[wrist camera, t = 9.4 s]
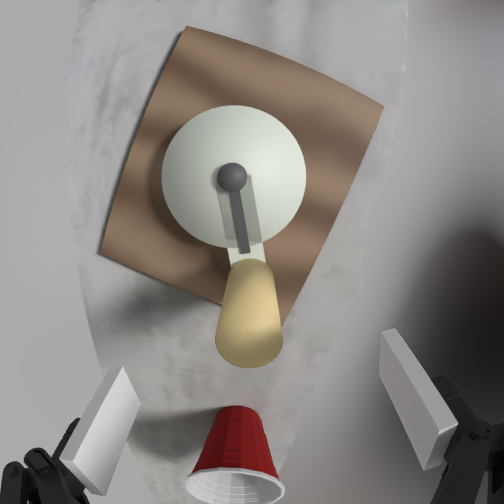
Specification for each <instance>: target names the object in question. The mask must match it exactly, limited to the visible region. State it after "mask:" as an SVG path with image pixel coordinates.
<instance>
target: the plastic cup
mask: <svg viewBox="0 0 504 504" xmlns="http://www.w3.org/2000/svg"><path fill="white" fill-rule="evenodd" d="M183 486H184V488H185V490H186V492H187V493H189V494H190V495H191V496H193V497H194V498H196V499H198V500H200V501H203V502H205V503H208V504H271V503H274V502H276V501H278V500H279V499H280V498H281V497H283V496H284V492H285V487H284V485H283V484H282V483H281V482H280V480H279V478H278V475H277V473H276V469H275V467H274V465H273V461H272V457H271V453H270V450H269V446H268V442H267V438H266V435H265V433H264V429H263V425H262V421H261V419H260V417H259V416H258V414H257V412H255V411H254V410H252V409H251V408H248V407H244V406H230V407H227V408H224V409H223V410H221V411H220V412H219V413H218V415H217V417H216V419H215V421H214V423H213V426H212V429H211V430H210V432H209V434H208V437H207V439H206V442H205V445H204V447H203V450H202V452H201V455H200V457H199V460H198V462H197V464H196V465H195V468H194V469H193V471H192V473H191V474H189V475H188V477H187V478H186V480H185V482H184V483H183Z"/></svg>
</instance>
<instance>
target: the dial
mask: <svg viewBox="0 0 504 504" xmlns="http://www.w3.org/2000/svg"><path fill="white" fill-rule="evenodd" d="M305 186H306V167H305V162H304V157H303V154H302V152H301V149H300V147H299V145H298V143H297V141H296V139H295V138H294V136H293V135H292V134H291V132H290V131H289V130H288V129H287V128H286V127H285V126H284V125H283V124H282V123H281V122H280V121H278V120H277V119H276V118H274V117H273V116H271V115H269V114H268V113H265V112H263V111H261V110H258V109H255V108H251V107H247V106H238V105H229V106H221V107H217V108H213V109H210V110H207V111H205V112H202V113H201V114H199V115H197V116H195V117H194V118H192V119H191V120H190V121H188V122H187V123H186V124H185V125H184V126H183V127H182V128H181V129H180V130H179V131H178V132H177V134H176V135H175V136H174V138H173V139H172V141H171V143H170V144H169V146H168V149H167V151H166V154H165V157H164V161H163V166H162V188H163V193H164V197H165V200H166V203H167V205H168V208H169V210H170V211H171V213H172V215H173V216H174V218H175V219H176V220H177V222H178V223H179V224H180V225H181V226H182V227H183V228H184V229H185V230H186V231H187V232H189V233H190V234H191V235H192V236H194V237H196V238H197V239H199V240H201V241H203V242H206V243H208V244H211V245H214V246H218V247H224V248H227V249H228V254H229V259H230V264H231V270H230V272H229V275H228V280H227V284H226V289H225V294H224V298H223V303H222V307H221V312H220V317H219V322H218V326H217V331H216V336H215V343H216V347H217V350H218V352H219V353H220V355H221V356H222V357H223V358H224V359H225V360H226V361H227V362H229V363H231V364H233V365H235V366H238V367H242V368H257V367H261V366H264V365H266V364H268V363H270V362H271V361H273V360H274V359H275V358H276V357H277V355H278V354H279V353H280V351H281V348H282V345H283V336H282V329H281V322H280V316H279V309H278V302H277V296H276V289H275V283H274V276H273V273H272V270H271V269H270V267H269V266H268V265H267V264H266V261H265V254H264V248H263V242H264V241H266V240H268V239H270V238H272V237H273V236H275V235H276V234H278V233H279V232H280V231H281V230H282V229H283V228H285V227H286V226H287V224H288V223H289V222H290V221H291V220H292V218H293V217H294V215H295V214H296V212H297V210H298V208H299V206H300V204H301V202H302V199H303V196H304V191H305Z"/></svg>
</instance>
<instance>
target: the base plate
mask: <svg viewBox="0 0 504 504" xmlns="http://www.w3.org/2000/svg"><path fill="white" fill-rule="evenodd" d="M229 105H238V106H247V107H251V108H255V109H258V110H261V111H263V112H265V113H268V114H269V115H271V116H273V117H274V118H276V119H277V120H278V121H280V122H281V123H282V124H283V125H284V126H285V127H286V128H287V129H288V130H289V131H290V132H291V134H292V135H293V136H294V138H295V139H296V141H297V143H298V145H299V147H300V149H301V152H302V154H303V157H304V162H305V167H306V186H305V191H304V196H303V199H302V202H301V204H300V206H299V208H298V210H297V212H296V214H295V215H294V217H293V218H292V220H291V221H290V222H289V223H288V224H287V226H286V227H285V228H283V229H282V230H281V231H280V232H279V233H278V234H276V235H275V236H273V237H272V238H270V239H268V240H266V241H264V242H263V248H264V254H265V261H266V264H267V265H268V266H269V267H270V269H271V270H272V273H273V276H274V283H275V289H276V296H277V302H278V309H279V316H280V322H281V327H282V325H283V323H284V322H285V320H286V318H287V316H288V314H289V312H290V310H291V308H292V306H293V305H294V303H295V301H296V299H297V297H298V295H299V293H300V291H301V289H302V287H303V285H304V283H305V281H306V279H307V277H308V275H309V273H310V271H311V269H312V267H313V265H314V263H315V261H316V259H317V257H318V255H319V253H320V251H321V249H322V247H323V245H324V243H325V241H326V239H327V236H328V234H329V232H330V230H331V228H332V226H333V224H334V222H335V220H336V217H337V215H338V213H339V211H340V209H341V207H342V204H343V202H344V200H345V198H346V196H347V193H348V191H349V189H350V187H351V185H352V182H353V180H354V178H355V176H356V173H357V171H358V169H359V166H360V164H361V162H362V159H363V157H364V155H365V152H366V150H367V148H368V145H369V143H370V141H371V138H372V136H373V133H374V131H375V129H376V126H377V124H378V121H379V119H380V116H381V114H382V111H383V109H384V106H383V105H381V104H379V103H378V102H376V101H374V100H372V99H371V98H369V97H367V96H365V95H363V94H361V93H360V92H358V91H356V90H354V89H352V88H350V87H348V86H346V85H344V84H342V83H340V82H338V81H336V80H334V79H332V78H330V77H328V76H326V75H324V74H322V73H320V72H317V71H315V70H313V69H311V68H309V67H306V66H304V65H302V64H299V63H297V62H295V61H292V60H290V59H287V58H285V57H282V56H280V55H277V54H275V53H272V52H269V51H267V50H264V49H261V48H259V47H256V46H253V45H250V44H247V43H244V42H241V41H238V40H235V39H232V38H229V37H225V36H222V35H219V34H215V33H212V32H208V31H205V30H201V29H197V28H193V27H189V26H186V27H185V29H184V31H183V33H182V35H181V36H180V38H179V40H178V42H177V44H176V46H175V48H174V50H173V52H172V54H171V56H170V58H169V60H168V62H167V64H166V66H165V68H164V71H163V73H162V75H161V77H160V79H159V81H158V84H157V86H156V88H155V90H154V93H153V95H152V97H151V100H150V102H149V104H148V107H147V109H146V112H145V114H144V116H143V119H142V121H141V124H140V127H139V129H138V132H137V134H136V137H135V140H134V142H133V145H132V148H131V151H130V153H129V156H128V159H127V162H126V165H125V168H124V171H123V174H122V177H121V180H120V183H119V186H118V190H117V193H116V196H115V199H114V203H113V206H112V210H111V213H110V217H109V220H108V224H107V228H106V232H105V236H104V240H103V244H102V248H101V252H100V254H102V255H105V256H107V257H109V258H111V259H113V260H116V261H118V262H120V263H122V264H125V265H127V266H129V267H131V268H134V269H136V270H138V271H140V272H143V273H145V274H147V275H150V276H152V277H154V278H157V279H159V280H161V281H164V282H166V283H169V284H171V285H173V286H176V287H178V288H181V289H183V290H186V291H188V292H191V293H193V294H195V295H198V296H200V297H203V298H205V299H208V300H211V301H213V302H216V303H218V304H221V305H222V303H223V298H224V294H225V289H226V284H227V280H228V275H229V272H230V270H231V264H230V259H229V254H228V249H227V248H224V247H218V246H214V245H211V244H208V243H206V242H203V241H201V240H199V239H197V238H196V237H194V236H192V235H191V234H190V233H189V232H187V231H186V230H185V229H184V228H183V227H182V226H181V225H180V224H179V223H178V222H177V220H176V219H175V218H174V216H173V215H172V213H171V211H170V210H169V208H168V205H167V203H166V200H165V197H164V193H163V188H162V166H163V161H164V157H165V154H166V151H167V149H168V146H169V144H170V143H171V141H172V139H173V138H174V136H175V135H176V134H177V132H178V131H179V130H180V129H181V128H182V127H183V126H184V125H185V124H186V123H187V122H188V121H190V120H191V119H192V118H194V117H195V116H197V115H199V114H201V113H202V112H205V111H207V110H210V109H213V108H217V107H221V106H229Z"/></svg>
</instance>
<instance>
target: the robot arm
mask: <svg viewBox="0 0 504 504" xmlns="http://www.w3.org/2000/svg"><path fill="white" fill-rule="evenodd" d="M379 376H380V378H381V379H382V382H383V383H384V386H385V388H386V390H387V392H388V394H389V396H390V398H391V400H392V402H393V404H394V406H395V409H396V411H397V413H398V415H399V417H400V419H401V421H402V423H403V426H404V428H405V430H406V432H407V434H408V437H409V439H410V441H411V443H412V445H413V448H414V450H415V452H416V454H417V457H418V459H419V461H420V463H421V466H422V468H423V470H424V471H425V470H428V469H430V468H433V467H435V466H438V465H440V464H441V462H442V460H443V458H445V460H446V462H447V466H446V468H445V470H444V472H443V473H442V478H441V480H440V483H439V485H438V488H437V490H436V492H435V494H434V497H433V499H432V501H431V503H430V504H474V503H475V499H476V497H477V494H478V491H479V488H480V484H481V481H482V478H483V475H484V471H488V495H487V504H504V423H502V424H497V425H490V424H489V423H488V422H486V421H483V420H478V419H477V418H476V417H475V415H474V414H473V412H472V411H471V409H470V408H469V406H468V405H467V403H466V402H465V400H464V399H463V398H462V396H460V393H459V392H458V391H457V390H456V388H455V387H454V385H453V383H452V382H451V381H450V380H449V379H447V378H445V377H444V376H442V375H440V376H437V377H434V378H431V379H430V378H429V377H428V375H427V374H426V372H425V371H424V369H423V368H422V366H421V365H420V363H419V362H418V360H417V359H416V358H415V356H414V355H413V353H412V352H411V350H410V349H409V347H408V346H407V344H406V343H405V342H404V340H403V339H402V337H401V336H400V335H399V333H398V332H397V331H396V329H395V328H394V329H390V330H386V331H382V332H381V343H380V363H379ZM140 405H141V403H140V401H139V399H138V397H137V395H136V393H135V391H134V389H133V387H132V385H131V383H130V381H129V379H128V377H127V375H126V372H125V370H124V368H123V367H110V369H109V371H108V372H107V374H106V376H105V377H104V379H103V381H102V383H101V384H100V386H99V388H98V389H97V391H96V393H95V394H94V396H93V398H92V400H91V401H90V403H89V405H88V407H87V409H86V410H85V412H84V414H83V415H82V417H81V418H77V419H75V420H74V421H73V422H72V423H71V424H70V425H69V427H68V429H67V431H66V433H65V434H64V436H63V439H61V441H60V443H59V445H58V447H57V448H56V450H55V452H54V454H53V456H52V457H50V456H49V455H48V453H47V452H46V451H45V450H44V449H42V448H33V449H32V450H30V451H28V453H27V454H26V455H25V457H24V463H25V464H26V465H27V466H28V468H24V467H23V466H22V465H21V464H20V463H19V462H16V461H14V462H10V463H9V464H7V465H6V466H5V468H4V470H3V475H2V483H1V492H0V504H27V500H28V501H29V504H90V503H89V501H88V499H87V496H86V495H85V493H84V492H83V491H84V489H85V487H86V488H87V489H88V490H89V491H90V492H91V493H92V494H96V495H100V496H106V493H107V490H108V488H109V485H110V482H111V480H112V477H113V474H114V472H115V469H116V466H117V463H118V461H119V458H120V455H121V453H122V450H123V448H124V445H125V443H126V440H127V438H128V435H129V433H130V430H131V428H132V425H133V423H134V420H135V418H136V415H137V413H138V410H139V408H140Z"/></svg>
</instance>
